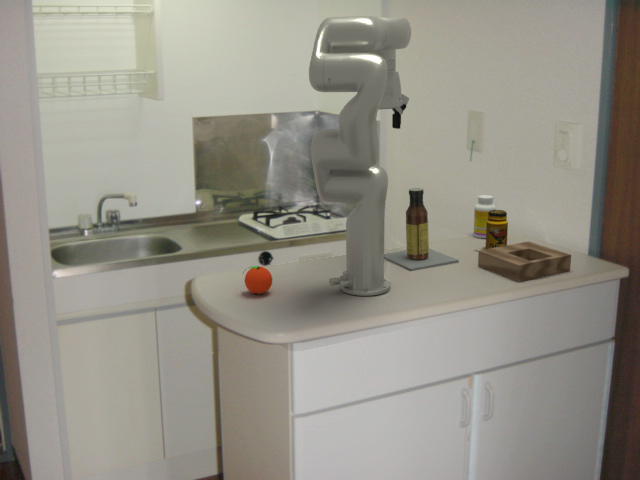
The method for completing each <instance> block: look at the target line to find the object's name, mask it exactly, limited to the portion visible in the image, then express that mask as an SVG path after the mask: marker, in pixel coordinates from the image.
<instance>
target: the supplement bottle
mask: <svg viewBox="0 0 640 480" xmlns="http://www.w3.org/2000/svg"><path fill="white" fill-rule="evenodd" d="M477 201H478V202H477V203H476V204H475V205H474V209H473V212H474V213H473V236H474V237H475V238H477V237H478V238H479V239H484V238H486V225H487V220H488V215H489V214H488V212H489V211H491V210H497V206H496V205H495V204H494V203H493V201H494V196H493V195H490V194H489V195H488V194H481V195H478V196H477Z"/></svg>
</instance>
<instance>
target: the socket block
mask: <svg viewBox="0 0 640 480" xmlns="http://www.w3.org/2000/svg"><path fill="white" fill-rule="evenodd" d="M477 257H478V259H477V266H478V267H479V268H481V269H484V270H487V271H489V272H492V273H495V274H496V275H499V276H502V277H504V278H506V279H507V278H508V279H509V280H512V281H514V282H517V283H521V282H525V281H530V280H535V279H538V278H543V277H544V278H545V277H549V276H553V275H557V274H562V273H567V272H568V273H569V272H571V267H572V266H571V264H572V263H571V262H572V254H571V253H566V252H564V251H560V250H558V249H554V248H551V247H548V246H545V245H541V244H539V243H535V242H532V241H529V240H528V241H524V242H519V243H513V244H507V245H506V246H501V247H496V248H490V249H485V250H479V251H478V256H477Z"/></svg>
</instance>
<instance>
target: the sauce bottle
mask: <svg viewBox="0 0 640 480" xmlns="http://www.w3.org/2000/svg"><path fill="white" fill-rule="evenodd" d="M424 194H425V193H424V188H423V187H413V188H409V189H408V195H409V204H408V205H409V206H408V208H407V209H406V211H405V232H406V235H405V238H406V239H405V240H406V250H407V256H408V258H410V259H413V260H423V259H426V258H428V255H429V254H428V252H429V249H430V244H429V243H430V242H429V241H430V240H429V237H430V236H429V220H428V217H429V216H428V214H429V213H428V210H427V209H426V207H425V205H424Z"/></svg>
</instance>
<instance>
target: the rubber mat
mask: <svg viewBox="0 0 640 480" xmlns="http://www.w3.org/2000/svg"><path fill="white" fill-rule="evenodd" d="M428 254H429V255H428V258H426V259H423V260H413V259H410V258H408V256H407V249H406V250H400V251H394V252H389V253H388V252H387V253H384V261H385V260H386V261H388V262H391V263H392V264H394V265H397V266H399V267H401V268H403V269H405V270H408V271H410V272H412V271H419V270H424V269H429V268H434V267H439V266H446V265H451V264H455V263H459V259H457V258H454V257H451V256H449V255H447V254H446V253H441V252H440V251H436V250H434V249H431V248H429V252H428Z"/></svg>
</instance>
